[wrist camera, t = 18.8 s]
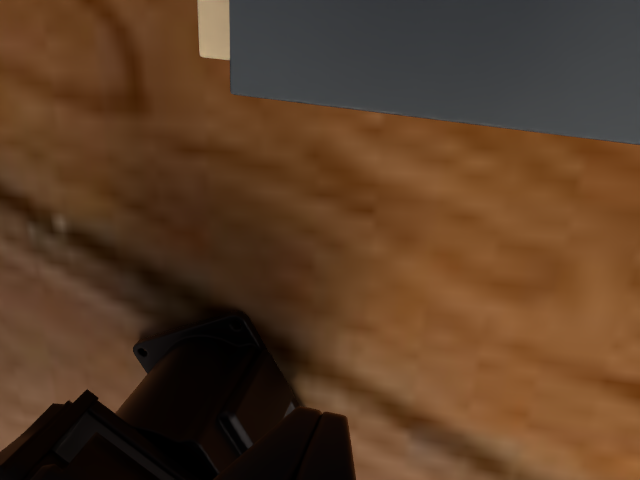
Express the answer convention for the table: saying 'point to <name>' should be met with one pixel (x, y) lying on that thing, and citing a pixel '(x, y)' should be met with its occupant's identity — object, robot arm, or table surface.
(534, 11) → the cabinet
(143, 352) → the robot arm
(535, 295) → the table surface
